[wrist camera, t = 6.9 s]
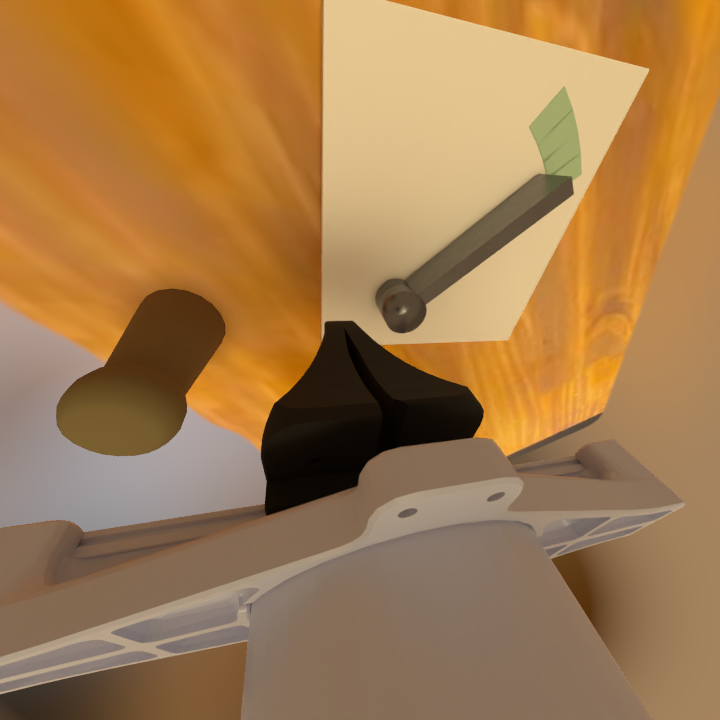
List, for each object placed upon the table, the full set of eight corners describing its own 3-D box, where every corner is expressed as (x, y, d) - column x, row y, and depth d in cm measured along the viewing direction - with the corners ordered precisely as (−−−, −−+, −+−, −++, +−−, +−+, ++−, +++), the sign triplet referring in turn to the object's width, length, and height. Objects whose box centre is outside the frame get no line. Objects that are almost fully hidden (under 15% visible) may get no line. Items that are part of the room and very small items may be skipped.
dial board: (502, 335, 29) (508, 340, 28) (320, 340, 25) (321, 347, 24) (633, 72, 17) (651, 68, 16) (321, -6, 13) (324, -17, 12)
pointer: (388, 320, 23) (399, 340, 21) (367, 296, 21) (377, 314, 19) (544, 202, 20) (580, 209, 17) (536, 159, 18) (575, 160, 15)
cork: (197, 279, 19) (123, 377, 11) (238, 343, 23) (207, 452, 15) (118, 301, 19) (-21, 419, 11) (172, 362, 23) (102, 483, 15)
